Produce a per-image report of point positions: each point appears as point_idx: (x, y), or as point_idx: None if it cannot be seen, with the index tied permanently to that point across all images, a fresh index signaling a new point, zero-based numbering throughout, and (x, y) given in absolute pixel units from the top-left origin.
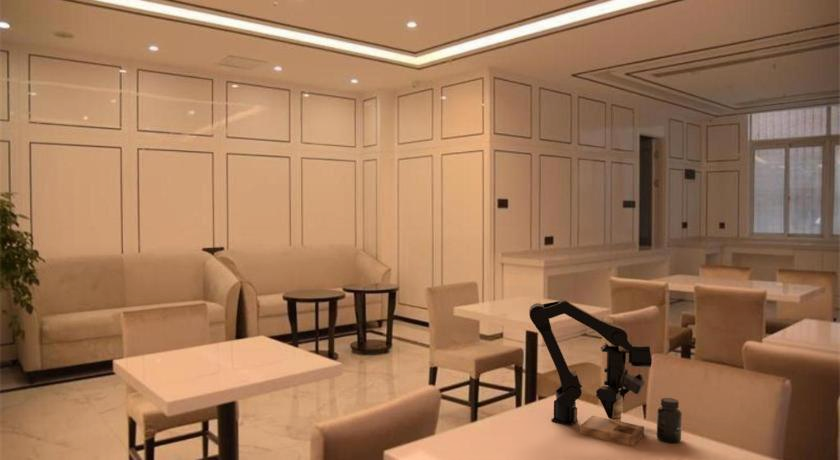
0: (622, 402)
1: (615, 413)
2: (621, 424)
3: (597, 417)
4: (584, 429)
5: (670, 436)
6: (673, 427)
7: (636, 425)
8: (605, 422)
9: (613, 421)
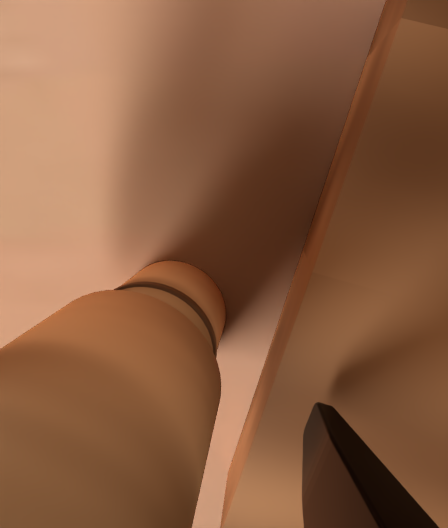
0: (29, 386)
1: (220, 381)
2: (423, 277)
3: (264, 505)
4: None
5: None
6: None
7: (407, 72)
8: (401, 444)
9: (337, 365)
